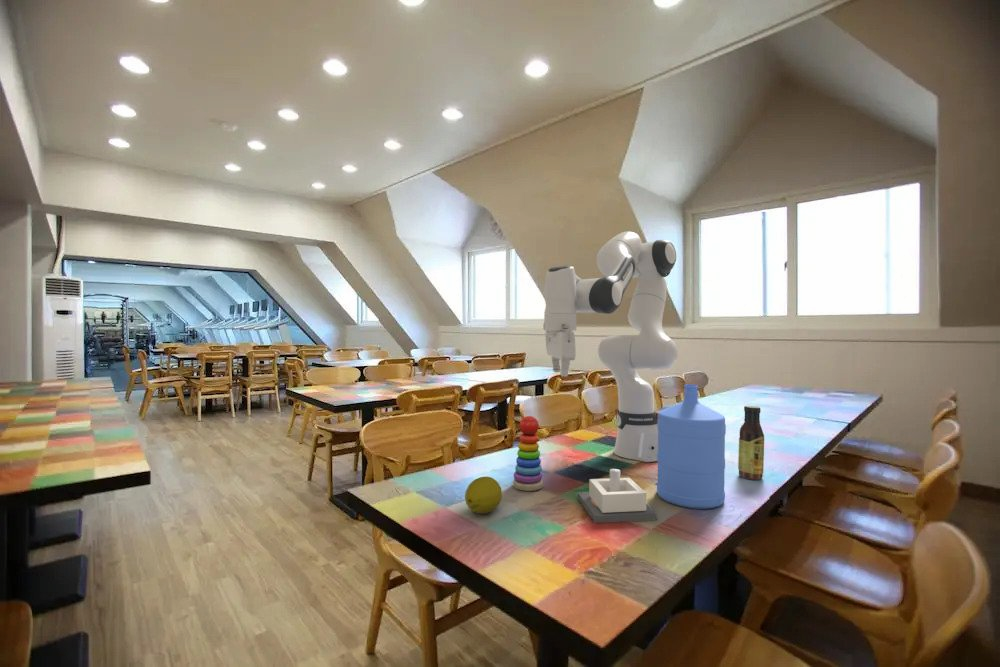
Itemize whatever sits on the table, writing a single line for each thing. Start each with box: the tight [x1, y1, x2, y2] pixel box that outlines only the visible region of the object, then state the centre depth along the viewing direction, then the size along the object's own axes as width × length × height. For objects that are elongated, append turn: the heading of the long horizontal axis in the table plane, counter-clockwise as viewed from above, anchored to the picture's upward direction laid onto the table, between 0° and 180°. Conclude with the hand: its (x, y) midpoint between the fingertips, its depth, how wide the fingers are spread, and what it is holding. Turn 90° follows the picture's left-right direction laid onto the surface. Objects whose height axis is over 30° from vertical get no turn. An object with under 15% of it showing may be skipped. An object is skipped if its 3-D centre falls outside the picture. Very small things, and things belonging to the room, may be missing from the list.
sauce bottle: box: [737, 405, 765, 481], centre depth 130 cm, size 6×6×20 cm
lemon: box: [464, 476, 503, 515], centre depth 107 cm, size 11×8×8 cm
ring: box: [588, 477, 647, 513], centre depth 108 cm, size 10×10×4 cm
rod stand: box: [577, 468, 657, 524], centre depth 109 cm, size 14×14×9 cm
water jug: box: [656, 384, 727, 510], centre depth 115 cm, size 16×16×28 cm
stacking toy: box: [512, 415, 544, 492], centre depth 123 cm, size 8×8×19 cm
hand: (560, 374), depth 129 cm, fingers open, 8 cm apart
